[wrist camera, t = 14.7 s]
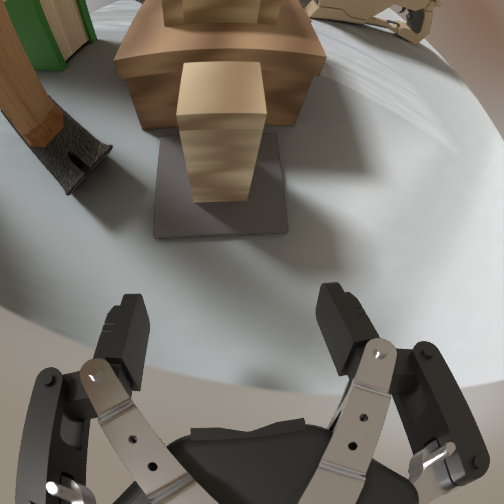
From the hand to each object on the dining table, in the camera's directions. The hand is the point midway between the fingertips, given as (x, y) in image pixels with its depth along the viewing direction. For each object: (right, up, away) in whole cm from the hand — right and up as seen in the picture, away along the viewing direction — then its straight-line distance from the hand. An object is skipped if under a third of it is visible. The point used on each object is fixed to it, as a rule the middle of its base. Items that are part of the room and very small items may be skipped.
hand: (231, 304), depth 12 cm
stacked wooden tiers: (-3, +22, +13) cm, 25 cm away
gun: (+20, +41, +20) cm, 50 cm away
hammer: (-20, +14, +9) cm, 26 cm away
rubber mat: (-2, +8, +10) cm, 13 cm away
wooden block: (-2, +8, +9) cm, 12 cm away
